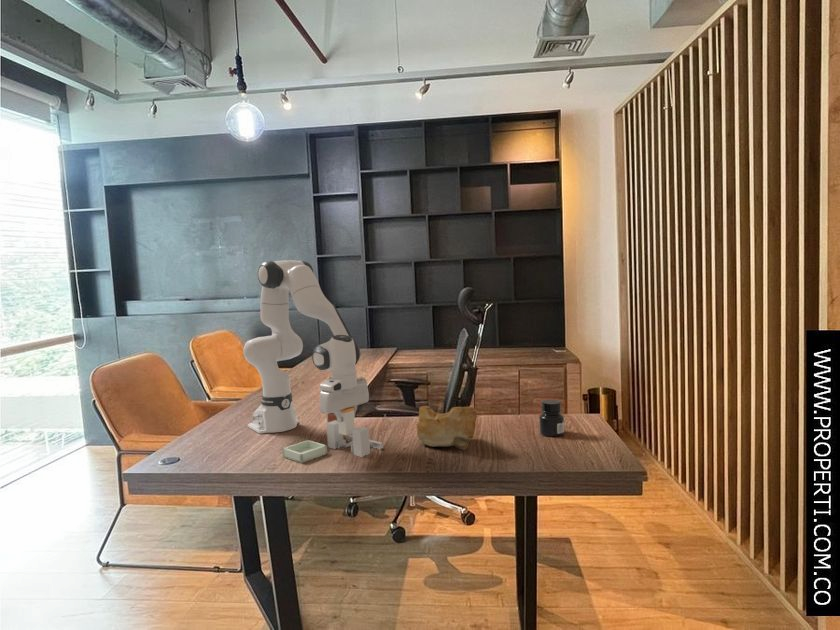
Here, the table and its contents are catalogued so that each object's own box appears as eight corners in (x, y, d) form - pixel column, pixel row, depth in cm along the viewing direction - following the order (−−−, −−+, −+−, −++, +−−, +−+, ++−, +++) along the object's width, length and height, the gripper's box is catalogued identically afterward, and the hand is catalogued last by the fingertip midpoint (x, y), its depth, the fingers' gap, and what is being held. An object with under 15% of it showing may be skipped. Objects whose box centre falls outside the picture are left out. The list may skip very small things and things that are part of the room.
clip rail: (329, 446, 179) (328, 438, 179) (349, 439, 186) (349, 431, 186) (362, 456, 167) (362, 447, 167) (383, 448, 175) (383, 439, 174)
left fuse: (327, 447, 178) (326, 422, 178) (336, 444, 181) (335, 420, 181) (335, 449, 176) (333, 424, 175) (343, 446, 179) (342, 421, 178)
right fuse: (353, 454, 169) (352, 429, 169) (362, 451, 172) (360, 426, 172) (361, 457, 167) (360, 431, 166) (370, 453, 170) (368, 428, 169)
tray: (282, 456, 170) (282, 448, 170) (308, 447, 178) (307, 439, 178) (301, 463, 163) (301, 454, 163) (327, 453, 171) (326, 445, 171)
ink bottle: (565, 438, 177) (564, 405, 176) (540, 437, 179) (539, 405, 178) (563, 429, 186) (562, 398, 185) (539, 429, 188) (538, 398, 187)
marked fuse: (338, 433, 174) (337, 408, 173) (347, 430, 177) (346, 405, 176) (346, 435, 171) (345, 410, 170) (354, 432, 174) (353, 407, 173)
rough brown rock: (493, 444, 176) (492, 402, 176) (471, 454, 162) (470, 409, 163) (438, 437, 189) (437, 398, 189) (413, 446, 175) (412, 404, 176)
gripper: (360, 375, 182) (361, 411, 183) (315, 385, 167) (317, 425, 168) (372, 377, 178) (373, 414, 179) (327, 388, 163) (329, 429, 164)
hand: (346, 420), depth 174 cm, fingers closed on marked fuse, 4 cm apart
